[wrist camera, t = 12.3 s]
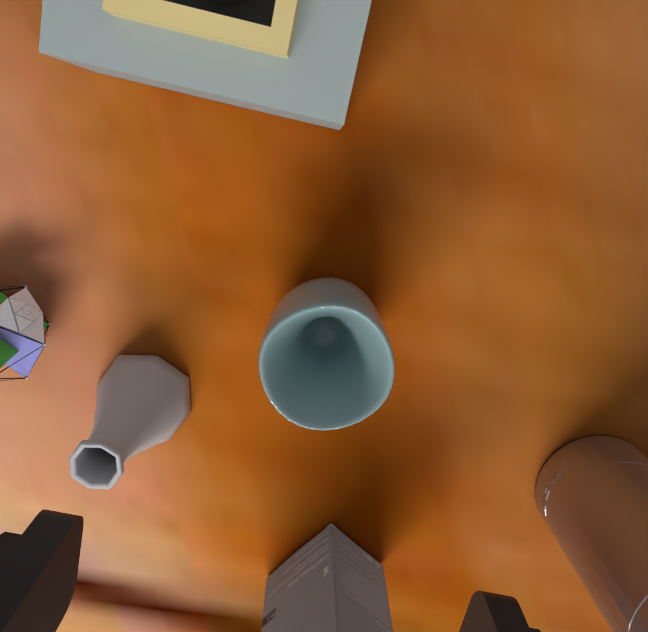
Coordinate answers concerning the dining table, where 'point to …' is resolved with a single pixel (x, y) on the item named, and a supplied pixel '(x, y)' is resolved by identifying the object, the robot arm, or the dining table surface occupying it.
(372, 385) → the cup
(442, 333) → the dining table surface
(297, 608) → the skincare box
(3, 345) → the geometric puzzle
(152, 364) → the flask
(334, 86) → the box with square opening
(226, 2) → the spout can
